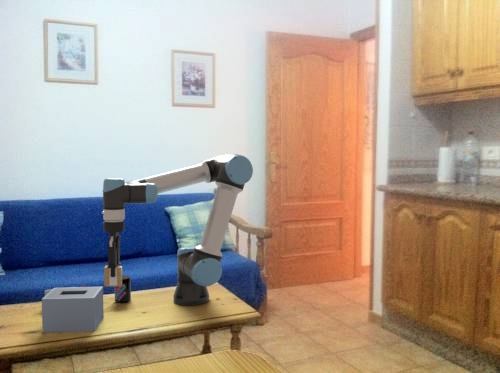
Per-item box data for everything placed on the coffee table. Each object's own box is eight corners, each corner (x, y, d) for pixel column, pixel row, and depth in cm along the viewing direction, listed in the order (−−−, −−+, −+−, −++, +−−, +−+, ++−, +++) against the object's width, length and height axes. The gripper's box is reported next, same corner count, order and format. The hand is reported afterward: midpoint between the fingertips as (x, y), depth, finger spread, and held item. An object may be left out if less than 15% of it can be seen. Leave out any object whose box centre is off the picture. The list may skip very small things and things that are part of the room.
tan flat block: (121, 284, 175) (122, 266, 175) (120, 286, 173) (121, 267, 172) (105, 284, 175) (105, 265, 174) (104, 286, 172) (104, 267, 172)
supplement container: (112, 300, 202) (112, 276, 201) (127, 298, 206) (127, 274, 205) (117, 305, 196) (117, 280, 195) (133, 302, 200) (132, 277, 199)
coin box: (103, 317, 182) (102, 286, 181) (95, 330, 168) (94, 297, 167) (55, 318, 180) (54, 287, 179) (42, 332, 166) (41, 299, 165)
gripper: (107, 217, 180) (107, 278, 181) (98, 223, 164) (99, 290, 166) (127, 217, 180) (127, 278, 182) (120, 223, 165) (121, 289, 167)
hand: (114, 283), depth 174 cm, fingers closed on tan flat block, 2 cm apart
